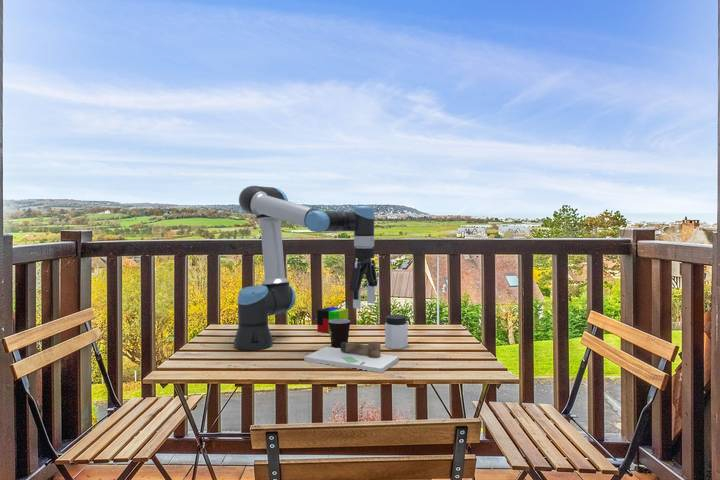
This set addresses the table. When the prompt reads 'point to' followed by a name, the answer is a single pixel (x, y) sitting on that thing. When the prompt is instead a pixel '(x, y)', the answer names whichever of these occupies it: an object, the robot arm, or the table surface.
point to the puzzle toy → (329, 317)
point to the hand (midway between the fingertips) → (364, 305)
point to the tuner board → (352, 359)
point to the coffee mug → (339, 331)
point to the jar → (396, 332)
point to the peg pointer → (362, 348)
